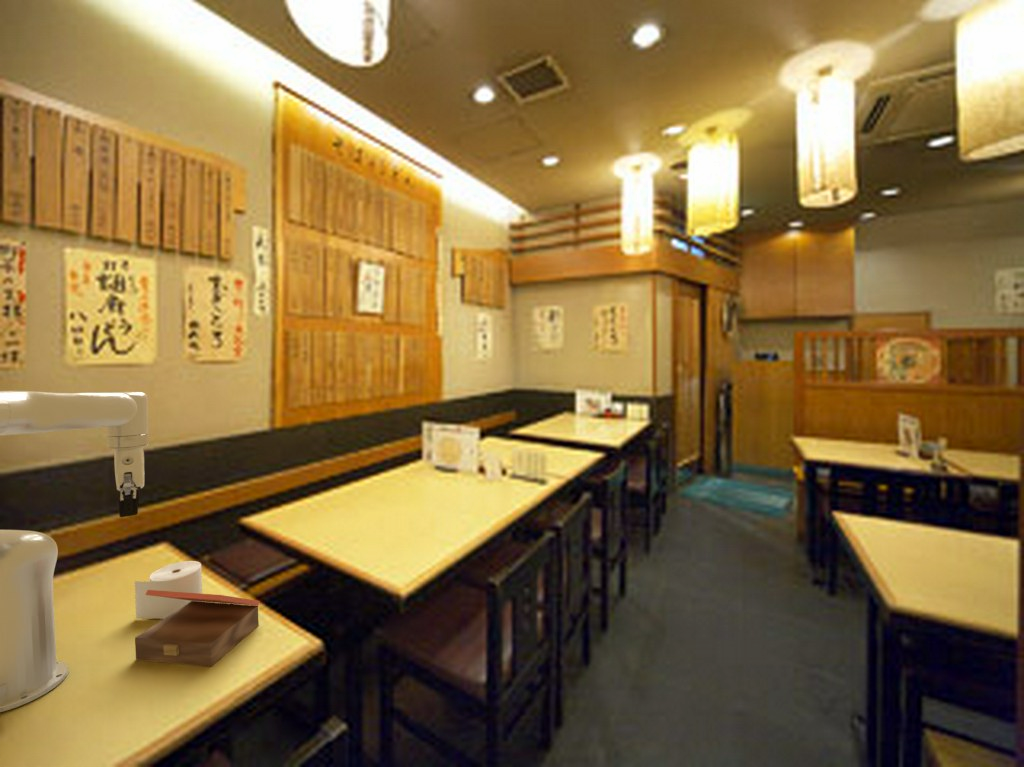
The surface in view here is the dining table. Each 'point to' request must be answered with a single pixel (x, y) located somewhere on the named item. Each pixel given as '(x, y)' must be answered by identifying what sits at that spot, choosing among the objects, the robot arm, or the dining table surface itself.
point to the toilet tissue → (167, 589)
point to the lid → (202, 597)
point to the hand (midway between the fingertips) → (129, 510)
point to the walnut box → (197, 633)
